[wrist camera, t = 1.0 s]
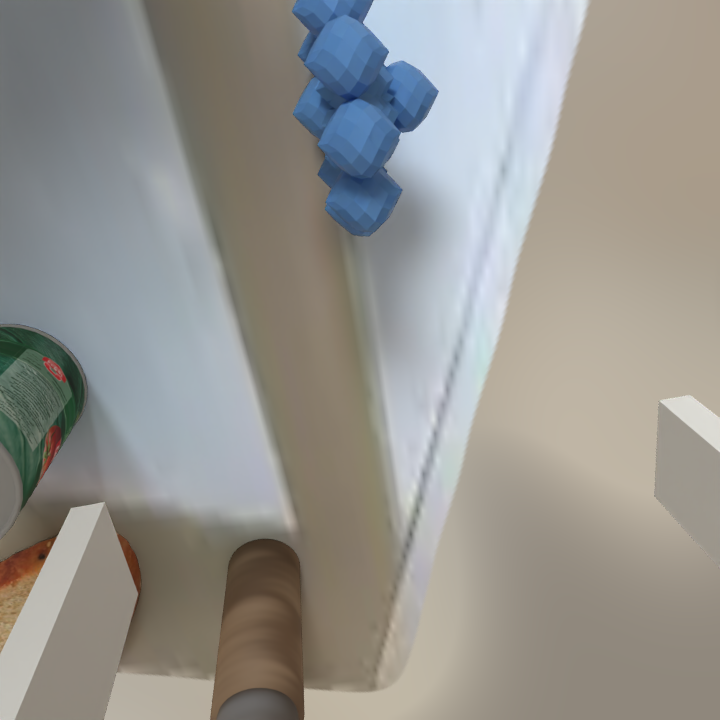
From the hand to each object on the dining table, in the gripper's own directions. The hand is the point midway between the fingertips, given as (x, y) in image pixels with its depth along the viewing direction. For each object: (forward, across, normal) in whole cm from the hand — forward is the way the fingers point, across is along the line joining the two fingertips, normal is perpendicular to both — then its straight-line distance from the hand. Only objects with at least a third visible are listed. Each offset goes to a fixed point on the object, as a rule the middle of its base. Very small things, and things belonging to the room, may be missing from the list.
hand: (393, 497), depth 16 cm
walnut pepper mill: (+25, -8, -22) cm, 34 cm away
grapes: (+25, +3, +8) cm, 26 cm away
